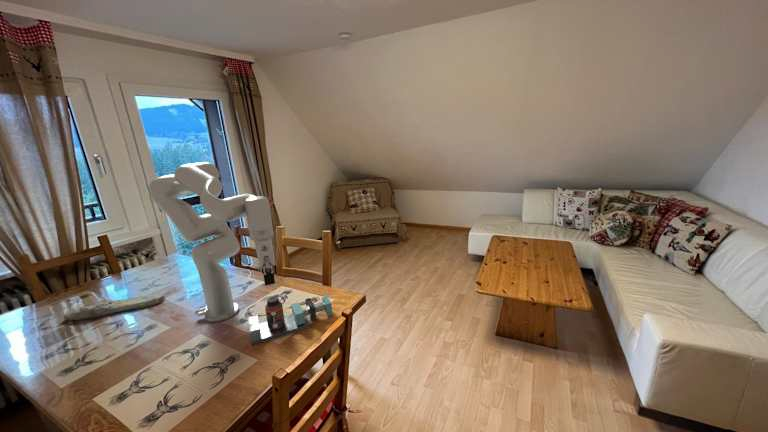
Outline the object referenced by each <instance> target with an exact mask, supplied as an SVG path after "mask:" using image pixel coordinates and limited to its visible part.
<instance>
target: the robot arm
mask: <svg viewBox="0 0 768 432" xmlns="http://www.w3.org/2000/svg"><path fill="white" fill-rule="evenodd" d="M219 178H220V172H219V170H218V168H217V167H216V165H215V164H213V163H211V162H209V161H202V162H194V163H186V164H181V165H180V166H178V167H177V168H176V169H175V170H174V172H173V174H166V175H163V176H159V177H156V178H154V179H152V180H151V181H150V183H149V186H148V187H149V194H150V196H151V197H150V198H151V199H152V200H153V202H154V204H155V205H156V206H157V207H159V209H160V210H161V211H163V212H164V213H165V214H166V216H168V218H169V219H170V220H171V222H172V224H173V225H174V227H175V228H176V229H177V231H178V232H179V233H180V235H181V236H182V238H183V240H185V241H186V242H187V243H191V244H193V243H197V242H200V241H203V240H206V239H208V240H206V241H203V242H201V243H199V244H197V245H196V246H194V247H193V249H191V252H190V253H191V260H192V261H193V263H194V265H195V267H196V270H197V273H198V276H199V279H200V284H201V288H202V292H203V295H204V299H205V304H206V306H203V307H201V308H196V309H194V314H195V315H197V316H198V317H200V316H204V319H205V321H207V322H211V323H212V322H213V323H218V322H223V321H226V320H228V319H229V318H232V317H234V316H235V315H236V314H237V313H238V312H239V310H240V306H239V304H238V303H236V302H235V301H234V298H233V293H232V288H231V284H230V280H229V274H228V270H227V269H226V268H225V267H224V266H223V265H221V264H220V263H221V262H223V261H224V260H227V259H229V258H232V257H233V256H235V255H237V254H238V253H239V251H240V242H239V240H238V239H237V237H236V235H235V234H234V232H233V231H232V229H231V228H230V226H229V225H228V223H229V222H233V221H235V220H238V219H241V218H245V217H246V221H247V222H246V223H247V229H248V234H249V238H250V241H253V242H254V247H255V250H256V255H257V259H258V260H257V261H258V263H259V265H260V268H261V272H262V275H263V279H264V280H263V281H264V285H265V287H267V286H270V285H274V284H275V283H276V280H275V273H274V270H273V266H274V267H275V266H276V264H277V263H276V259H275V252H274V245H273V241H272V238H273V237H274V236H275V233H274V229H273V221H272V213H271V208H270V206H271V205H270V201H269V198H267V196H262V195H254V194H251V193H243V194H238V195H234V196H231V197H226V198H219V196H220V195H221V193H222V191H223V183H222V181H221V180H220V179H219ZM191 194H195V195H197V196H198V197H199V201H200V204H201V207H202V208H203V210H204V212H206V213H205V214H202V215H199V213H197V212H196V211H195V209H194V208H193V206H192V205H191V204H189V203H188V202H186V201H184V200H182V199H180V198H179V197H182V196H186V195H191ZM227 222H228V223H227ZM212 237H213V238H212ZM209 238H212V239H209Z"/></svg>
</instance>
